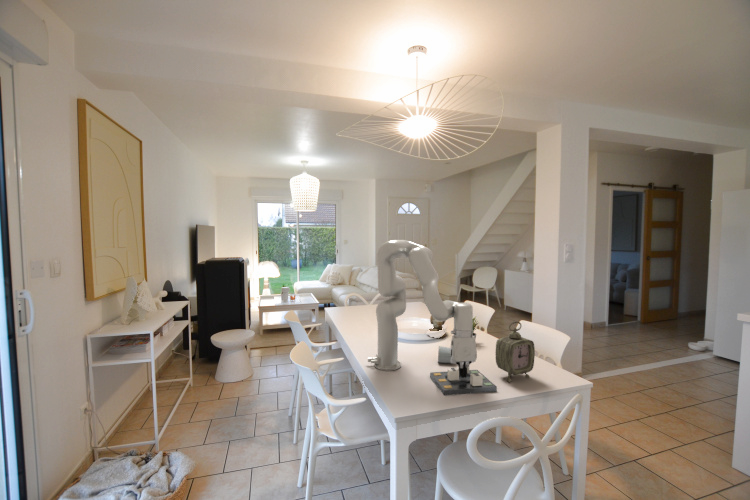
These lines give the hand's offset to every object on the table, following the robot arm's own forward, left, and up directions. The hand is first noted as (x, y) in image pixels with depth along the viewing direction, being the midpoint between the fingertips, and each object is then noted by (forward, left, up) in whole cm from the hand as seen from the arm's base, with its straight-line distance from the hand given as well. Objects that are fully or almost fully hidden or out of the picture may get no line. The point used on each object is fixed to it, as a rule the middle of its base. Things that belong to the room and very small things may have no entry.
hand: (462, 376), depth 139 cm
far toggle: (+3, +6, -1) cm, 7 cm away
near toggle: (+3, -6, -1) cm, 7 cm away
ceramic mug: (+2, +25, -4) cm, 25 cm away
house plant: (+26, +49, -4) cm, 55 cm away
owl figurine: (+13, +69, -4) cm, 70 cm away
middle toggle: (-4, 0, -1) cm, 4 cm away
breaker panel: (0, 0, -3) cm, 3 cm away
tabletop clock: (+25, +3, -4) cm, 25 cm away
